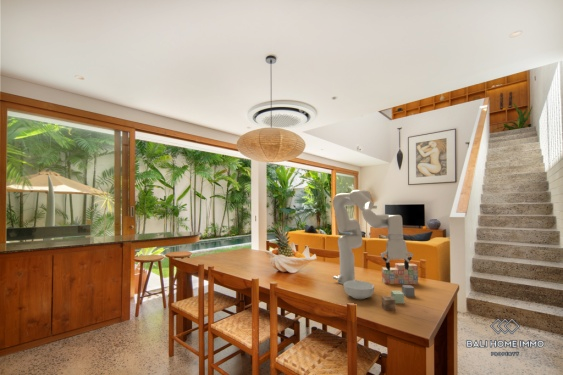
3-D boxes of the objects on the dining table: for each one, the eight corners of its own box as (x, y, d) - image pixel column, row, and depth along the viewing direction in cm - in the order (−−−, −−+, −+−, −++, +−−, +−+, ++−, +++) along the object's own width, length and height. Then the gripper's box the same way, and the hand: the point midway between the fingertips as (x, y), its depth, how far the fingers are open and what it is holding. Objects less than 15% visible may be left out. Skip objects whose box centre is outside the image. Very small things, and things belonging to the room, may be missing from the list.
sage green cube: (394, 303, 142) (394, 293, 142) (391, 300, 147) (390, 290, 147) (404, 303, 142) (403, 293, 142) (400, 300, 147) (400, 290, 147)
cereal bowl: (370, 304, 140) (369, 291, 141) (339, 298, 149) (339, 286, 149) (377, 294, 155) (377, 282, 155) (349, 290, 164) (349, 278, 164)
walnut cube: (385, 310, 133) (385, 300, 133) (382, 306, 138) (381, 296, 138) (395, 310, 133) (395, 300, 133) (391, 306, 138) (391, 296, 138)
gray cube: (405, 296, 151) (405, 287, 152) (402, 293, 156) (401, 285, 157) (414, 296, 151) (414, 287, 151) (410, 293, 156) (410, 285, 156)
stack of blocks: (384, 283, 175) (384, 265, 176) (381, 281, 181) (381, 262, 182) (418, 284, 173) (417, 265, 174) (414, 281, 179) (413, 263, 180)
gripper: (381, 238, 142) (383, 271, 141) (414, 238, 142) (416, 270, 140) (377, 237, 150) (379, 268, 149) (408, 236, 149) (410, 267, 148)
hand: (397, 269), depth 145 cm, fingers open, 9 cm apart
